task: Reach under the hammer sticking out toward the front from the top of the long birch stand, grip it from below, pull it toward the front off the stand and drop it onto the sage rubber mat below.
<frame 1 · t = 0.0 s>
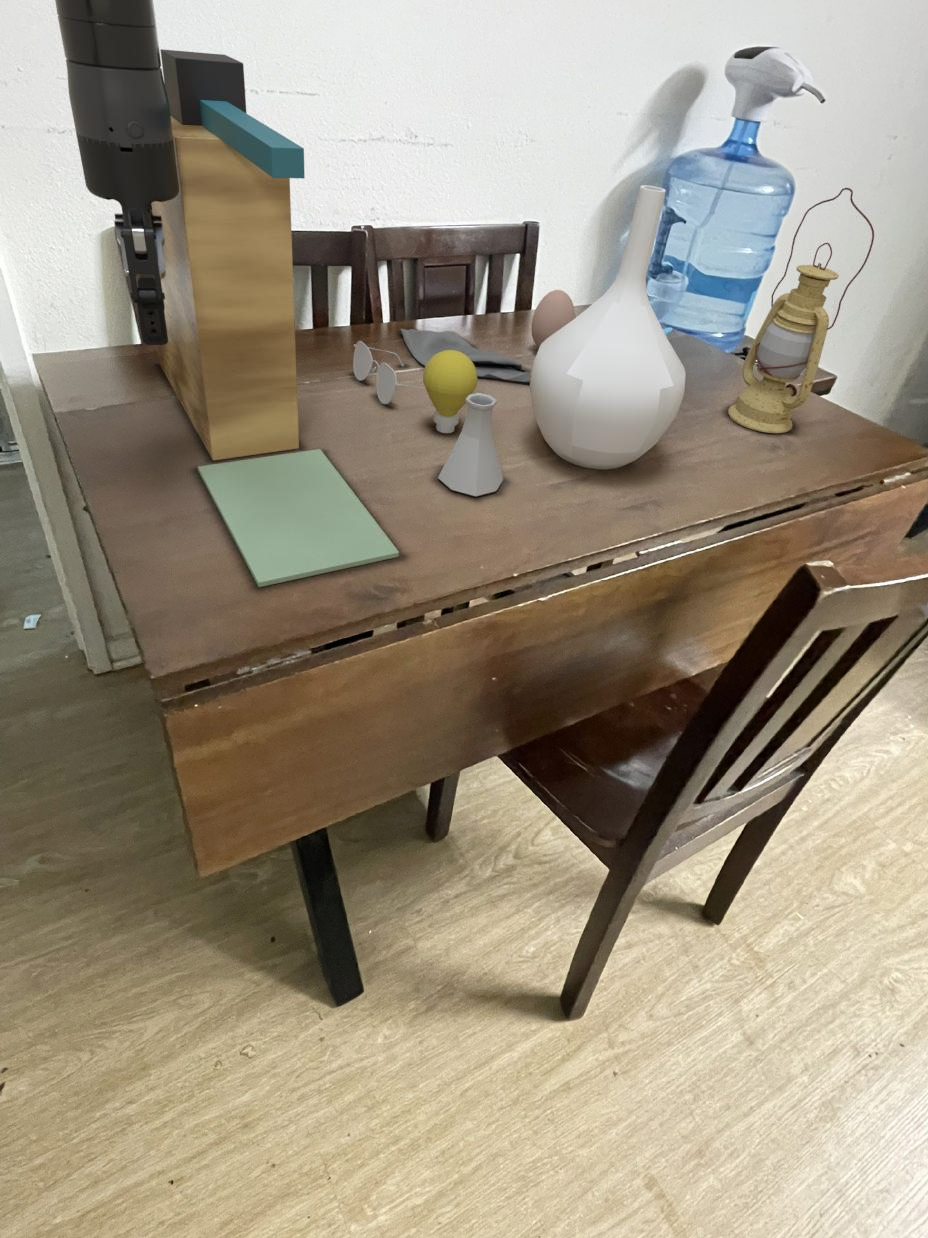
hand: (154, 326, 73), 15 cm above the table, tool pointing down, fingers open, 8 cm apart
mat: (293, 511, 78), on the table
hammer: (215, 126, 70), point 31 cm above the table, touching stand
light bulb: (445, 430, 97), on the table
vase: (589, 452, 96), on the table
sunglasses: (396, 388, 105), on the table
stand: (242, 431, 90), on the table
egg: (547, 354, 121), on the table
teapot: (612, 398, 110), on the table
lantern: (760, 420, 110), on the table
flask: (470, 482, 87), on the table
cloth: (458, 361, 115), on the table
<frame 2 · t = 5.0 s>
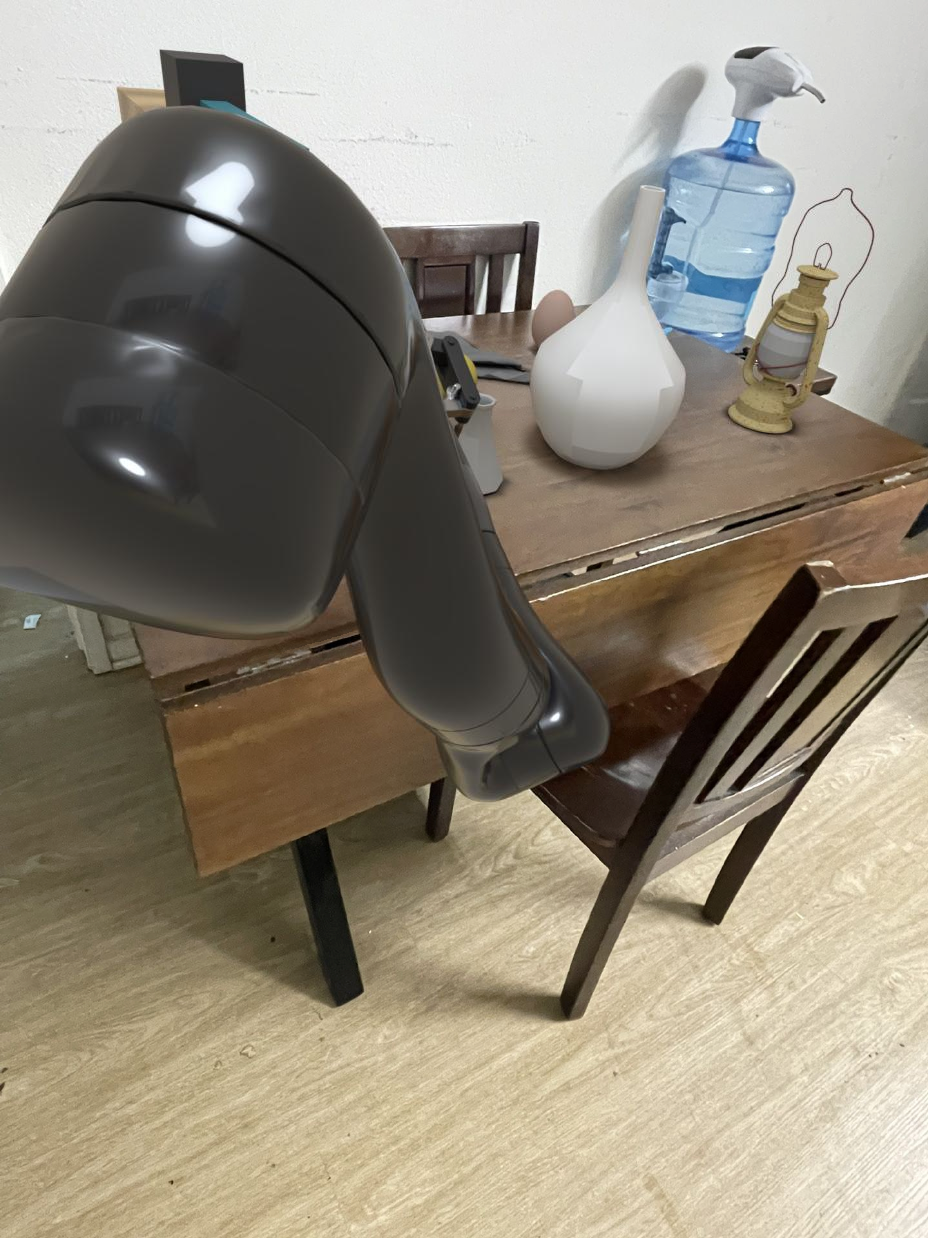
hand: (339, 304, 54), 25 cm above the table, tool pointing upward, fingers open, 8 cm apart
nothing on the table moved.
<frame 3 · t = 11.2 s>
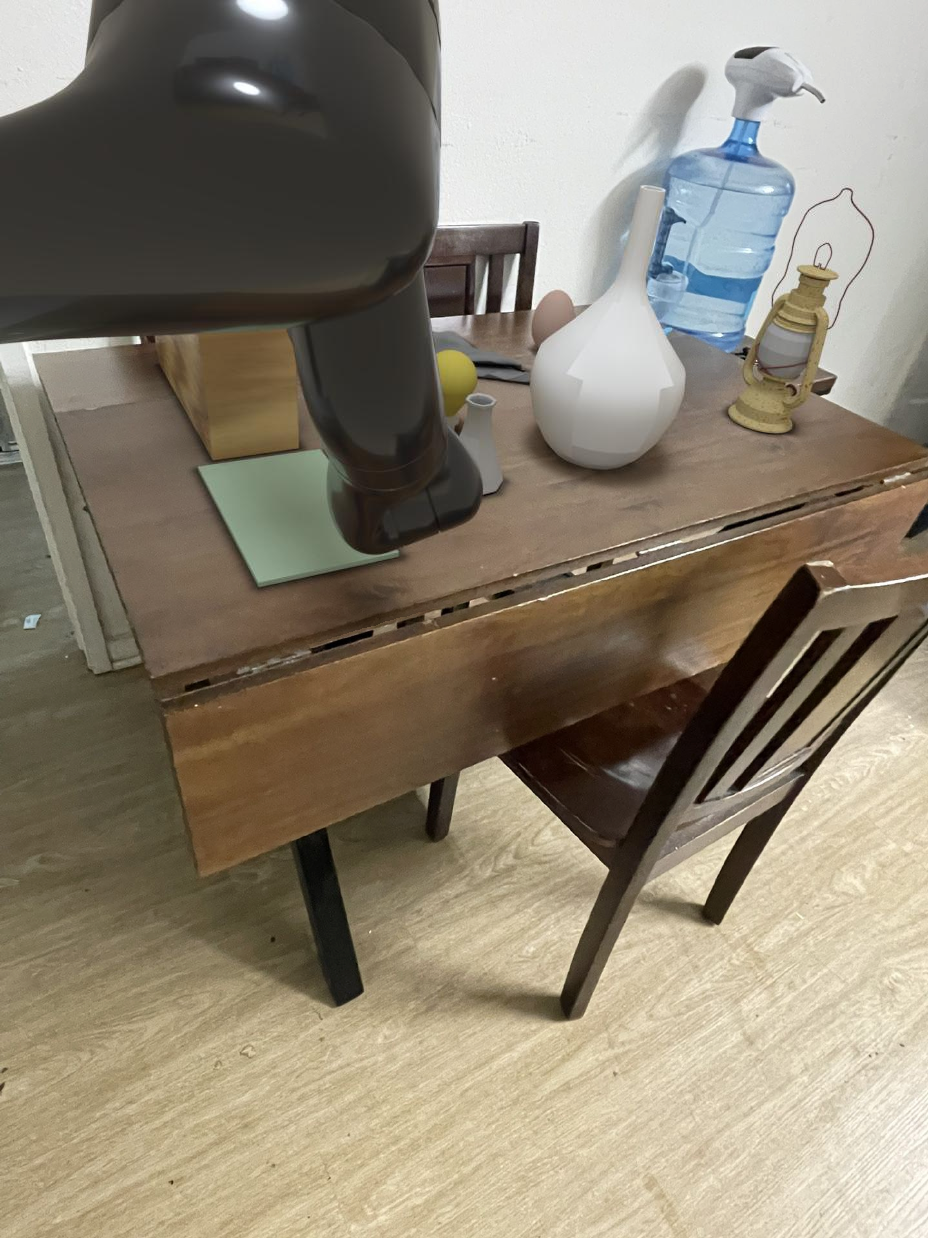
hand: (260, 123, 60), 33 cm above the table, tool pointing upward, fingers closed on hammer, 2 cm apart
hammer: (216, 126, 70), point 31 cm above the table, touching gripper, stand
everything else where it was.
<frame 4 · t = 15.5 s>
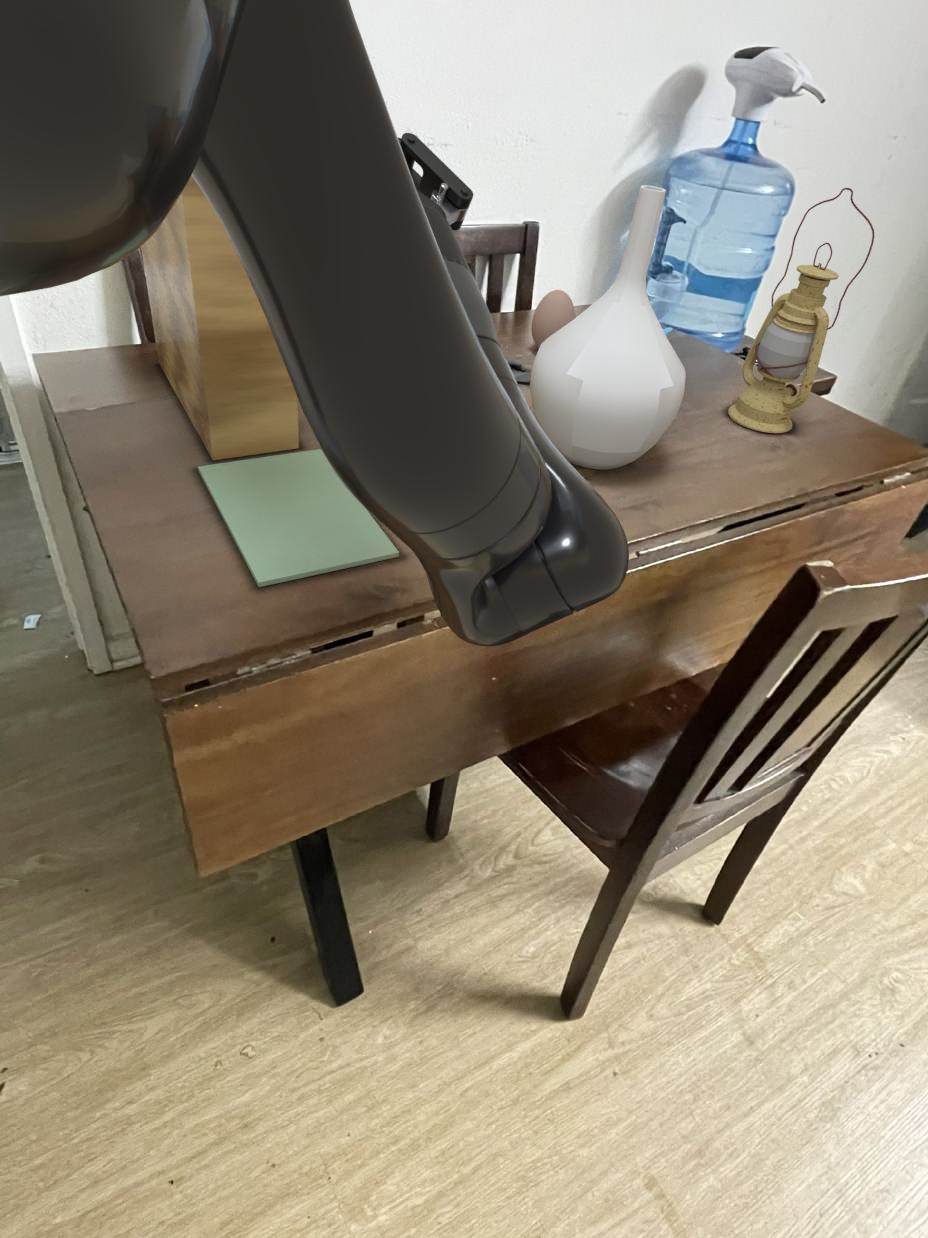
hand: (325, 96, 48), 37 cm above the table, tool pointing upward, fingers closed on hammer, 2 cm apart
hammer: (259, 105, 59), point 35 cm above the table, touching gripper
everything else where it was.
when the fingers open (23 cm above the table, at t = 19.9 s): hammer drops 20 cm, resting on mat.
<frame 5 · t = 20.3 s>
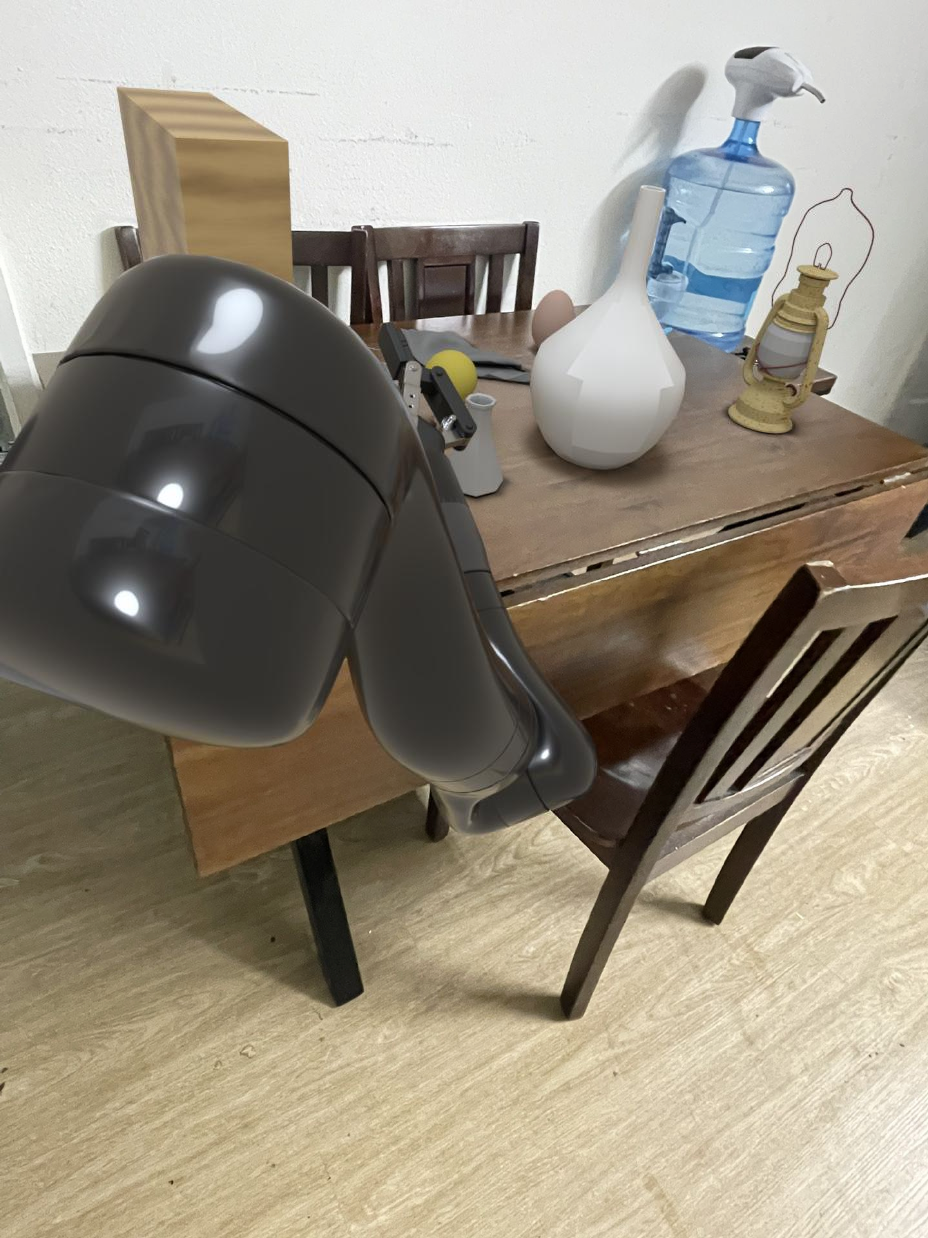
hand: (342, 333, 55), 23 cm above the table, tool pointing upward, fingers open, 6 cm apart
hammer: (290, 499, 79), point 1 cm above the table, touching mat
everything else where it was.
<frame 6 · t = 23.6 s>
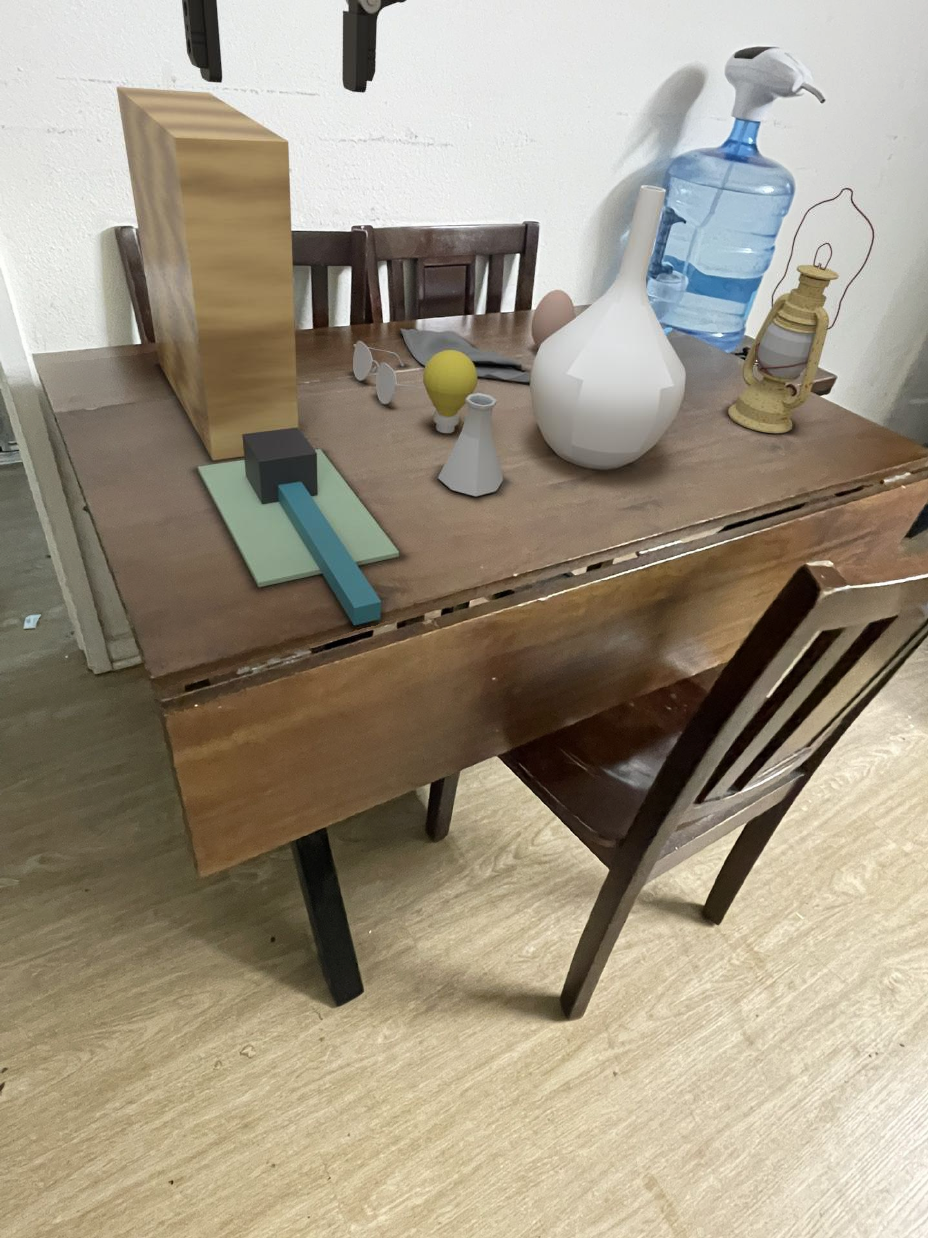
hand: (285, 85, 44), 38 cm above the table, tool pointing down, fingers open, 8 cm apart
nothing on the table moved.
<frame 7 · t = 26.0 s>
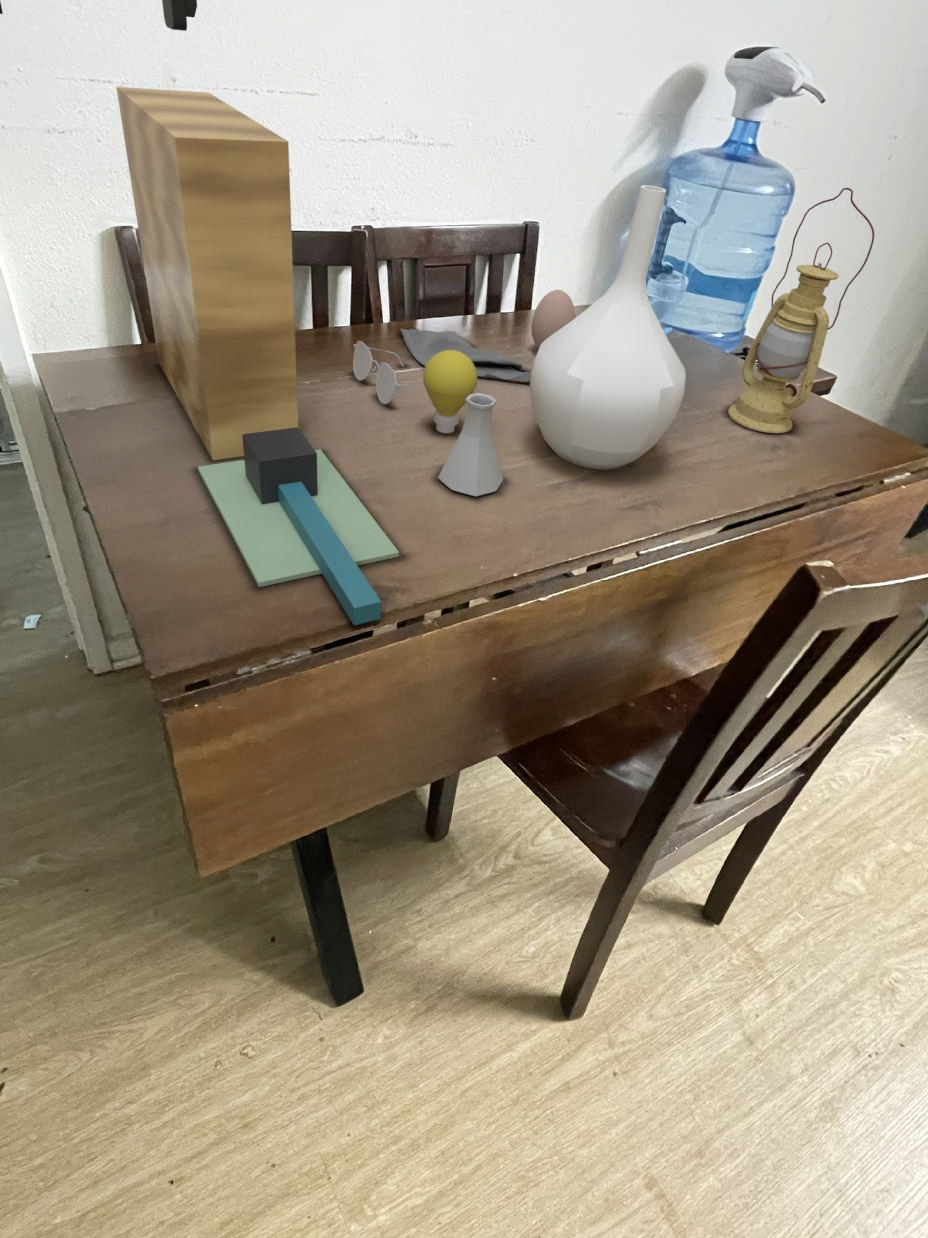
hand: (88, 20, 38), 40 cm above the table, tool pointing down, fingers open, 8 cm apart
nothing on the table moved.
at the end: hammer inside the target area on the mat (1.4 cm from its centre), point 0.6 cm above the mat's base; hammer touching mat; hammer point 0.6 cm above the table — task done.
